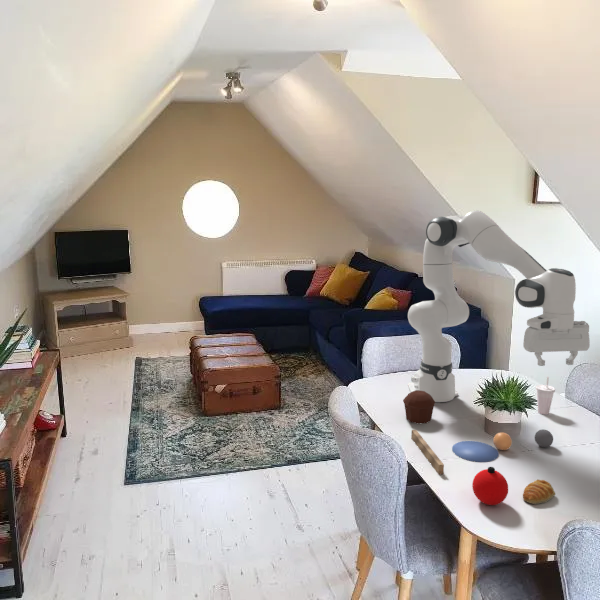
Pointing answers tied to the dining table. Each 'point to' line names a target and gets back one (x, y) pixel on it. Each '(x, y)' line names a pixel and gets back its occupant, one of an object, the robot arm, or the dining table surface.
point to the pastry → (538, 492)
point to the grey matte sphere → (543, 438)
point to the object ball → (502, 441)
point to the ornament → (490, 486)
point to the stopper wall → (427, 452)
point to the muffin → (419, 407)
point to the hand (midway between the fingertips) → (555, 365)
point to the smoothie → (544, 398)
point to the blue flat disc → (475, 451)
